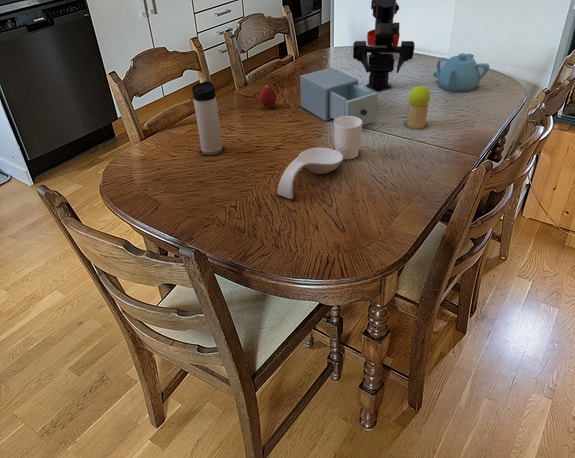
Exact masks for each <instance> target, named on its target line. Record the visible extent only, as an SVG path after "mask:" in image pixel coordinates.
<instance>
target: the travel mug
mask: <svg viewBox="0 0 575 458" xmlns="http://www.w3.org/2000/svg"><path fill="white" fill-rule="evenodd" d="M191 91H192V99H193V106H194V111H195V112H194V113H195V119H196V124H197V130H198V131H197V132H198V138H199V143H200V144H199V145H200V149H201V153H202V154H203V155H206V156H215V155H218V154H220V153H221V152H222V151H223V150H224V149H223V141H222V134H221V126H220V125H221V123H220V118H219V117H220V116H219V109H218V103H217V95H216V88H215V85H214V83H212V81H210V80H204V82H198V83H196V84H195V85H193V86H192V88H191Z"/></svg>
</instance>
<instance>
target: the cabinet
mask: <svg viewBox="0 0 575 458" xmlns="http://www.w3.org/2000/svg"><path fill="white" fill-rule="evenodd" d="M299 78H300V79H299V84H300V85H299V87H300V89H299V90H300V107H301V108H302V109H304V110H306V111H308V112H310V113H311V114H312V115H315V116H316V117H318V118H319V119H320V120H323V121H325V122H327V121H330V120H334V119H333V118H331V117H329V116H328V91H330V90H333V89H337V88H340V87H344V86H348V85H351V84H355V85H357V86H359V79H357V78H355V77H353V76H352V75H349V74H346V73H344V72H342V71H340V70H338V69H337V68H334V67H332V66H331V67H328V68H324V69H320V70H317V71H313V72H308V73H304V74H301V75H299Z"/></svg>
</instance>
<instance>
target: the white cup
mask: <svg viewBox="0 0 575 458" xmlns="http://www.w3.org/2000/svg"><path fill="white" fill-rule="evenodd" d="M362 130H363V125H362V120H361V119H360V118H358V117H354V116H342V117H338V118H336V119H335V120H334V119H333V140H334V141H333V142H334V143H333V144H334V150H336V151H338V152H340V153H341V154H342V155H343V160H352V159H356V158H357V157H358V156H359V154H360V153H359V151H360V146H361V140H362V132H363V131H362Z"/></svg>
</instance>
